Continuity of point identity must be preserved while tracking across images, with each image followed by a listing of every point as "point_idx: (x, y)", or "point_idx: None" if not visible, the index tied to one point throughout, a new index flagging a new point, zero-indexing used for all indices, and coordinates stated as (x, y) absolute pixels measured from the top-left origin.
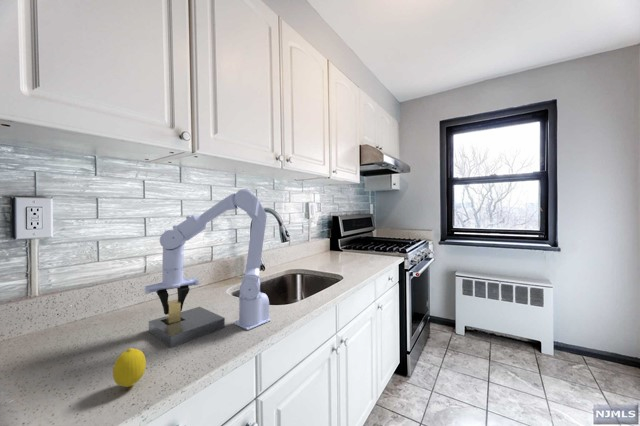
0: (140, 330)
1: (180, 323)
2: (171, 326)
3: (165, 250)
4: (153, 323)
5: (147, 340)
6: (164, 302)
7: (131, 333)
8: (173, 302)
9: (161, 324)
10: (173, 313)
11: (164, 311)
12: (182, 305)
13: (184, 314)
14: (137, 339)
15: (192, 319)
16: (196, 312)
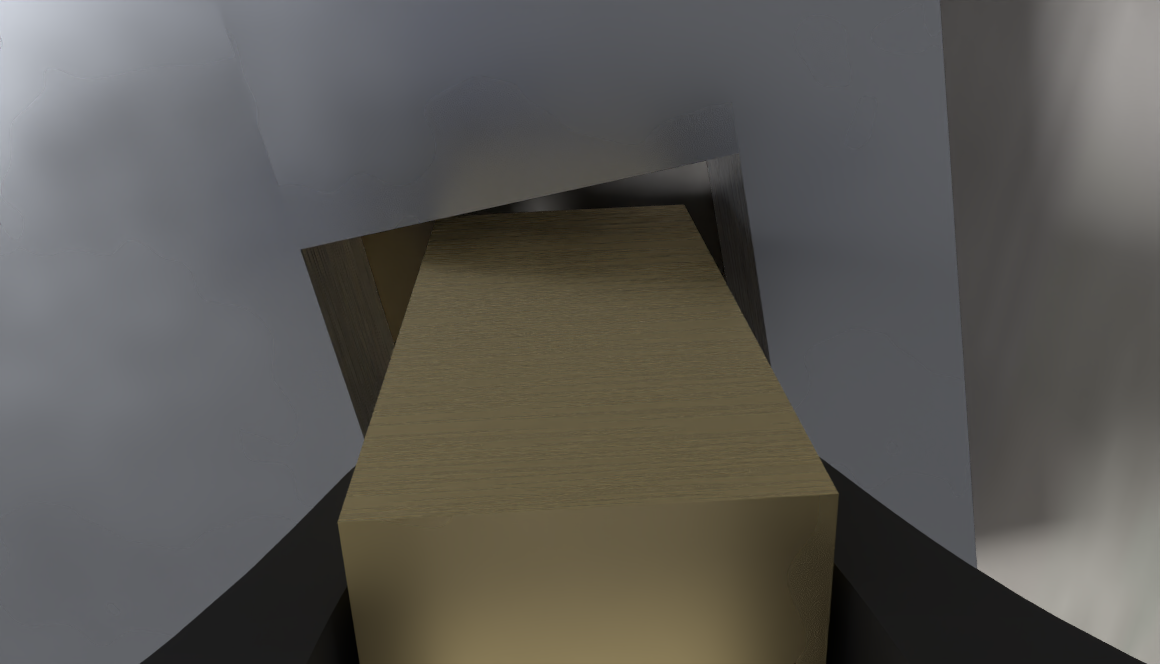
0: None
1: (453, 84)
2: (683, 23)
3: None
4: (949, 478)
5: (1032, 139)
6: (1053, 647)
7: (1125, 593)
8: None
9: (834, 321)
10: (612, 334)
11: None
12: (288, 533)
13: None
14: (1137, 298)
15: (137, 161)
16: (10, 565)
